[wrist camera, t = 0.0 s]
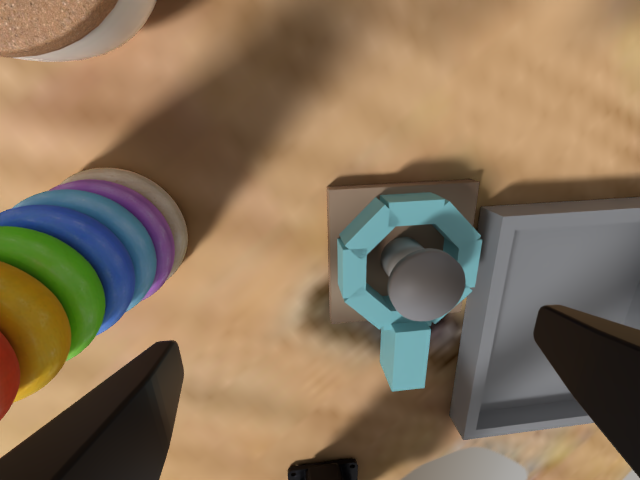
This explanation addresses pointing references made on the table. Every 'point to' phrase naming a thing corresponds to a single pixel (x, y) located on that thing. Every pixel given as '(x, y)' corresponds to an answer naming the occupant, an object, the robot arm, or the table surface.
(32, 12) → the lidded jar
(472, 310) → the tray
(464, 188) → the ring
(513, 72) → the table surface
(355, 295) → the ring
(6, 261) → the stacking toy
